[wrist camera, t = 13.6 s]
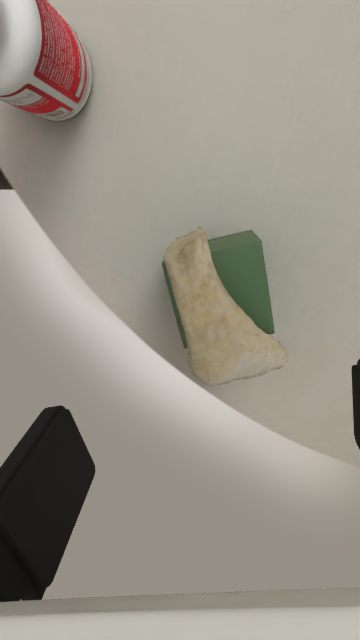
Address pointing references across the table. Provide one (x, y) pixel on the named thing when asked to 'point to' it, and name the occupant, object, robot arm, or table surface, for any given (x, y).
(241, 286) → the green block
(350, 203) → the table surface
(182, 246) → the bone
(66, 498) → the robot arm
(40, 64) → the pill bottle
